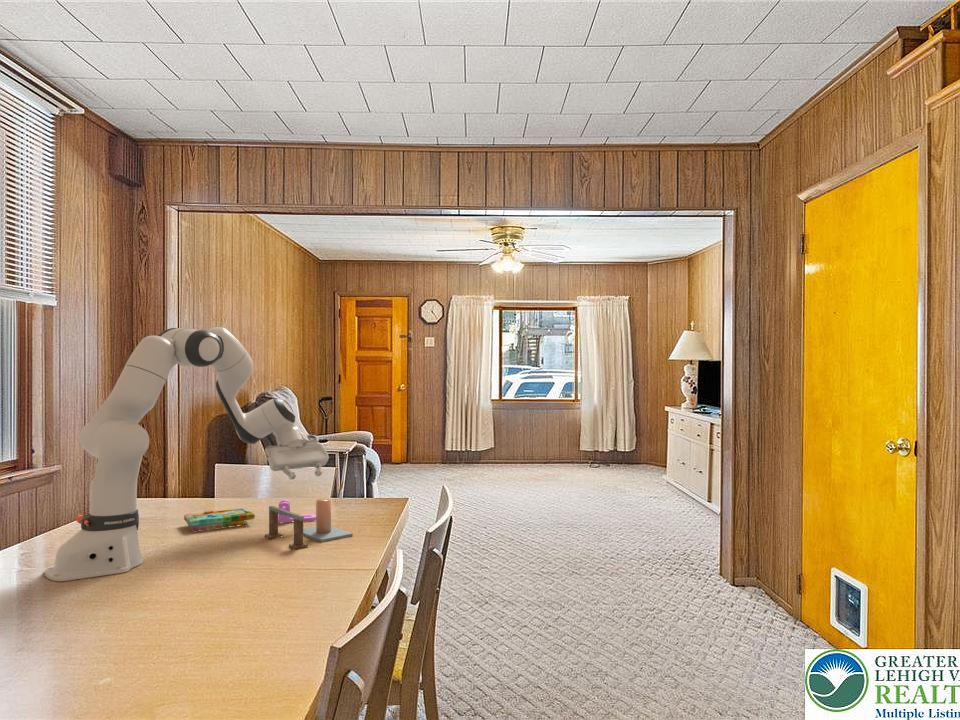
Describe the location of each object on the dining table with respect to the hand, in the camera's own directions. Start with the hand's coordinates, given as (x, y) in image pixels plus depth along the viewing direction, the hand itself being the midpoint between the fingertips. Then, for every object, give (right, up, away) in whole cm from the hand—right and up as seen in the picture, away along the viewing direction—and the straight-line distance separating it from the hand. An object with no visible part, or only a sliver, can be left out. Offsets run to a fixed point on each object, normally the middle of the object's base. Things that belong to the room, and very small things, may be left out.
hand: (306, 476), depth 223 cm
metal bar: (-2, -9, -17) cm, 19 cm away
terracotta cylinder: (+8, -16, -8) cm, 20 cm away
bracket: (-6, -17, +11) cm, 21 cm away
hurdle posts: (-2, -17, -17) cm, 24 cm away
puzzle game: (-30, -17, +4) cm, 35 cm away
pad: (+8, -17, -8) cm, 20 cm away
